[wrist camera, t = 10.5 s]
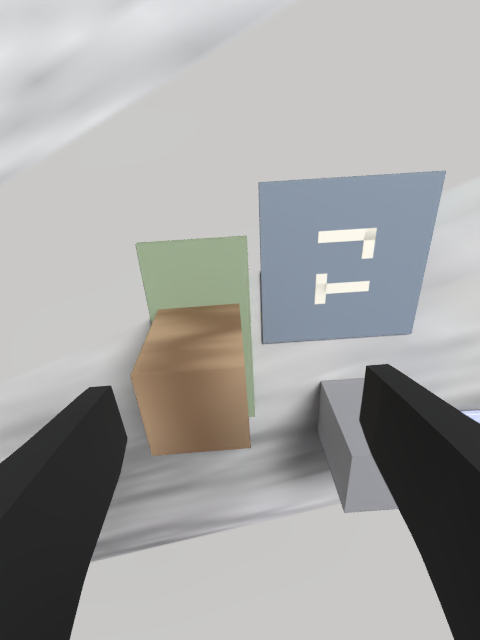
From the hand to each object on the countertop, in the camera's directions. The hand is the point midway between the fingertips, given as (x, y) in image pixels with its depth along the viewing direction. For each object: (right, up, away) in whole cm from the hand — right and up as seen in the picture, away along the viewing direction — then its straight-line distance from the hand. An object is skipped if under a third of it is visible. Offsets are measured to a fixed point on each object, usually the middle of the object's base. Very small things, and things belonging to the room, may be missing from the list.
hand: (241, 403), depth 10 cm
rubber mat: (-2, +1, +10) cm, 11 cm away
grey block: (+8, -3, +13) cm, 16 cm away
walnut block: (-2, +1, +10) cm, 10 cm away
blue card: (+6, +5, +8) cm, 11 cm away
